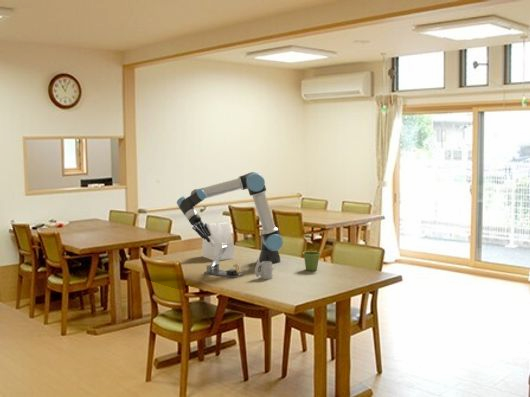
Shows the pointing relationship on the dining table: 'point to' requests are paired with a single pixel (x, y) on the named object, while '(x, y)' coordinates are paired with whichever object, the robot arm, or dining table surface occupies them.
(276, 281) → the dining table surface
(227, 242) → the white box
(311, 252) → the plant pot
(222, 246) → the white flat bar
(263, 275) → the mug
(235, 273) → the base
